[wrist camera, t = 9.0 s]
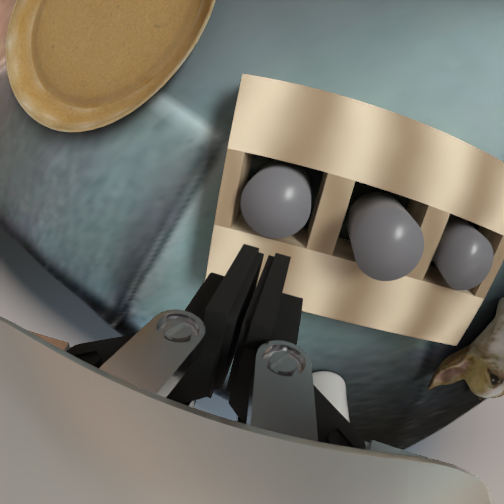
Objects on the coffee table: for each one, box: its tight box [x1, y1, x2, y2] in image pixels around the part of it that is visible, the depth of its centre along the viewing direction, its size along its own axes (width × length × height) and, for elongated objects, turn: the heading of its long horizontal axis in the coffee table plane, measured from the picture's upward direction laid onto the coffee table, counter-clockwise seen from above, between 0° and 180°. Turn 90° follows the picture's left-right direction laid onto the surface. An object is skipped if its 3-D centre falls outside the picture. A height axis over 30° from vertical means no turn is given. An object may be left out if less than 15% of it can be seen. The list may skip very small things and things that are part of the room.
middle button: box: [347, 192, 424, 281], centre depth 20 cm, size 5×5×5 cm
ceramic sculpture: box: [427, 297, 504, 400], centre depth 23 cm, size 11×9×15 cm
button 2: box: [432, 214, 494, 290], centre depth 22 cm, size 5×5×5 cm
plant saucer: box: [6, 0, 215, 132], centre depth 19 cm, size 24×24×3 cm
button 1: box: [241, 160, 311, 238], centre depth 23 cm, size 5×5×5 cm
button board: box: [205, 74, 504, 346], centre depth 23 cm, size 23×16×4 cm
